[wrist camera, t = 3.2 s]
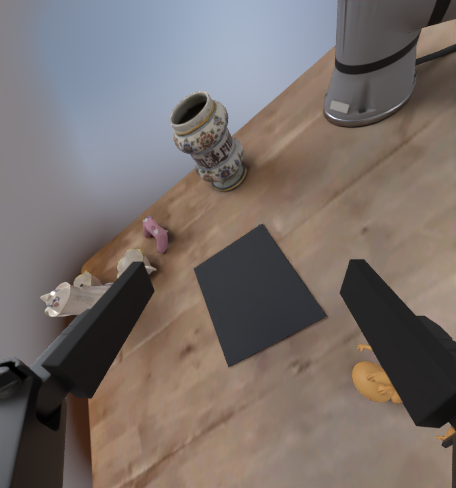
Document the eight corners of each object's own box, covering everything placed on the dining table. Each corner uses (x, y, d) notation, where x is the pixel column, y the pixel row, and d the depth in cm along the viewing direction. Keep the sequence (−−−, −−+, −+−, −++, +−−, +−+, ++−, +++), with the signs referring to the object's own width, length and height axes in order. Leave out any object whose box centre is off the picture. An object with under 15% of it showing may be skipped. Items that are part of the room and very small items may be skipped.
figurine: (330, 353, 27) (335, 371, 17) (365, 328, 26) (393, 330, 16) (386, 423, 22) (440, 505, 12) (430, 395, 21) (525, 456, 11)
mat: (262, 224, 39) (262, 223, 39) (326, 316, 28) (326, 316, 28) (194, 269, 42) (193, 268, 42) (229, 366, 32) (228, 367, 31)
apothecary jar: (259, 175, 44) (227, 98, 29) (217, 203, 46) (167, 145, 31) (239, 149, 50) (204, 74, 35) (203, 175, 53) (156, 115, 38)
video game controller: (176, 246, 49) (167, 226, 44) (161, 256, 47) (149, 237, 42) (159, 229, 54) (149, 210, 49) (144, 237, 53) (133, 218, 47)
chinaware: (163, 247, 51) (105, 212, 38) (167, 306, 41) (90, 286, 28) (92, 287, 57) (22, 269, 45) (81, 347, 48) (-13, 345, 35)
